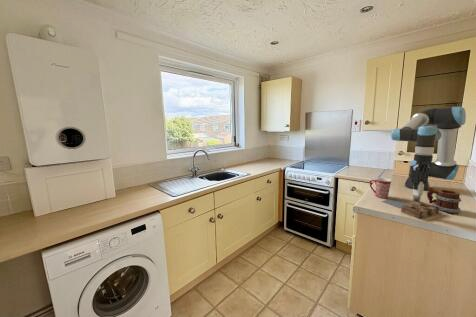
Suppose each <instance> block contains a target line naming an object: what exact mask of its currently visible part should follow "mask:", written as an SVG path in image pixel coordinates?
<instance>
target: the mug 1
mask: <svg viewBox="0 0 476 317" xmlns="http://www.w3.org/2000/svg"><path fill="white" fill-rule="evenodd" d="M372 182H374V184H375V189H374V188H373V186H372ZM391 183H392V180H391V179H389V178H386V177H376V178H375V179H371V180H370V181H369V187H370V189H371V191H372V192H373V193H374V196H375V197H376V198H378V199H384V200H388V198H389V195H390V194H389V193H390V188H391V185H392V184H391Z"/></svg>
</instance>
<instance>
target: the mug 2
mask: <svg viewBox="0 0 476 317" xmlns="http://www.w3.org/2000/svg"><path fill="white" fill-rule="evenodd" d="M428 189H429V190H427V193H426V194H427V195H426V197H427V199H428V204H430V205H433V206H436V207H439V212H441V213H446V214H448V215H449V214H450V215H451V214H452V215H458V214H459V212H461V208H460V207H459V204H460V202H462V199H461V197H460V195H461V194H460V193H459V192H457V191H453V190H449V189H438V190H435V189H434V188H433V187H431V186H430V187H428ZM433 195H435V196H434V197H435V198H436V199H434V197H433Z"/></svg>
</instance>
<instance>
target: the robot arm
mask: <svg viewBox="0 0 476 317" xmlns="http://www.w3.org/2000/svg"><path fill="white" fill-rule="evenodd" d="M466 117H467V114H466V110H465V108H464V107H463V106H450V107H449V106H447V107H444V106H443V107H431V108H426V109H423V110H421V111H419V112H417V113H415V114H414V115H412V117H411V119H410V120H409V121H408V122H407V123H406V124H404V126H403V127H401V128H394V129H392V130H391V134H390V138H391V140H392V141H395V142H396V141H397V142H413V143H414V142H415V148H414V154H413V155H414V156H413V159H412V160H411V161H410V163H409V171H408V177H407V178H406V180H405V183H404V187H405V188H408V189H412V192H411V193H412V195H413V196H414V195H417V196H419V190H420V181H422V182H423V185H422V191H421V196H423V194H424V191H429V189H428V187H431V185H430V183H429V177H430V178H435V179H442V180H450V181H453V180H455V178H456V176H457V174H458V172H459V168H460V165H459V164H457V161H456V160H455V152H456V142H457V135H458V130H459V129H461V127H462V126H463V125H465V123H466ZM436 142H437V151H436V152H437V153H436V159H434V160H433V157H434V156H433V155H434V152H435V145H436Z"/></svg>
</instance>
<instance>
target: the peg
mask: <svg viewBox="0 0 476 317" xmlns="http://www.w3.org/2000/svg"><path fill="white" fill-rule="evenodd" d="M422 185H423V182H422V181H420V190H419V196H417V195H413V196H412V201H413V202H414V203H418V202H421V196H422V195H421V191H422Z"/></svg>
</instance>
